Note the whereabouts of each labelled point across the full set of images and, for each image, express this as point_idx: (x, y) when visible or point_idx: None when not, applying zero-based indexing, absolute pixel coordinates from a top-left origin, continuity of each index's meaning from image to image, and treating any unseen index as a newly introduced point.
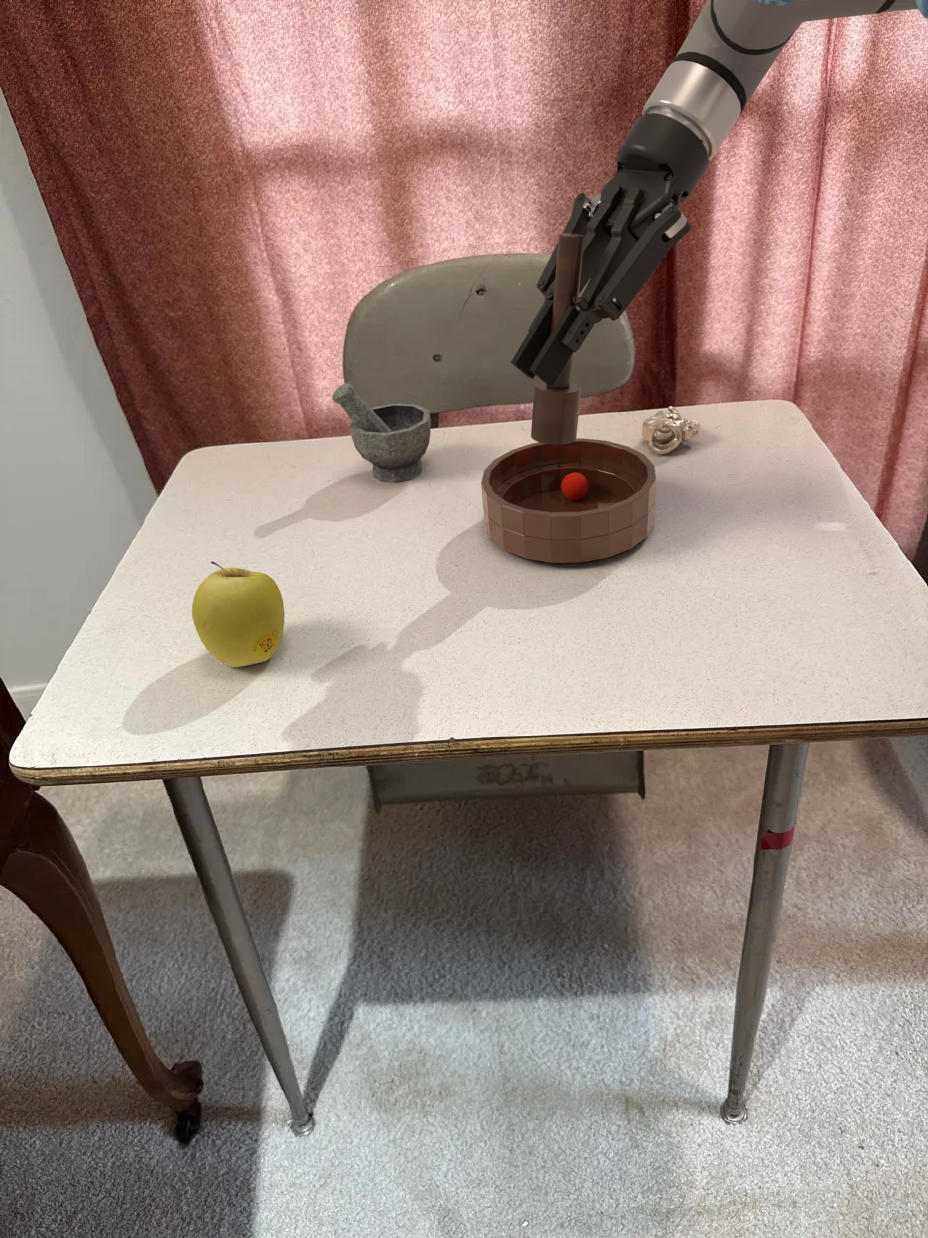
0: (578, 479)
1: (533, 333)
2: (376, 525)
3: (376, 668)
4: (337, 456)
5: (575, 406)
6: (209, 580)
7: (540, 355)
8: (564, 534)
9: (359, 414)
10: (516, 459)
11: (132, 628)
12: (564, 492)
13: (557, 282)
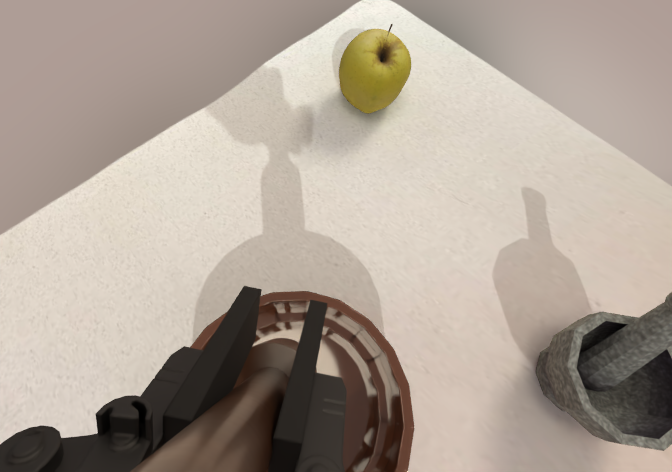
0: None
1: (298, 349)
2: (463, 269)
3: (278, 134)
4: None
5: None
6: (387, 33)
7: (242, 307)
8: None
9: (640, 321)
10: (400, 425)
11: (459, 71)
12: None
13: (221, 422)
